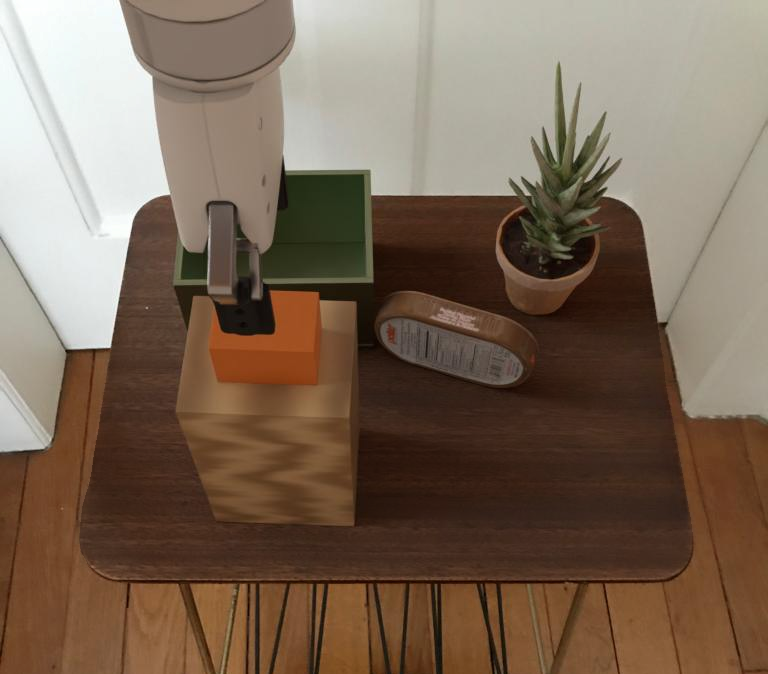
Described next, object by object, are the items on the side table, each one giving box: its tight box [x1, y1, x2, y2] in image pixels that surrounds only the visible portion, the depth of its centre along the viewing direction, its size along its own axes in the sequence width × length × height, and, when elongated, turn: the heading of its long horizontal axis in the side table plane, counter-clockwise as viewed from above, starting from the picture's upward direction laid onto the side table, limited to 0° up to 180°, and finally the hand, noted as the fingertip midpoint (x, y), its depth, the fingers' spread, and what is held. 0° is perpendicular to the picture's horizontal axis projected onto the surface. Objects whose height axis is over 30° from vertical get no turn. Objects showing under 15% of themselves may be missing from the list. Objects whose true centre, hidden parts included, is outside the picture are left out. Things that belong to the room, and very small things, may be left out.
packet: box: [208, 290, 322, 386], centre depth 62 cm, size 7×5×4 cm
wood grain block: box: [174, 296, 361, 527], centre depth 72 cm, size 12×10×18 cm
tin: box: [374, 290, 540, 389], centre depth 81 cm, size 15×3×8 cm, turn 71°
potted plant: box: [495, 60, 623, 316], centre depth 78 cm, size 10×10×25 cm
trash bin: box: [172, 169, 375, 349], centre depth 84 cm, size 13×17×10 cm
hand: (256, 265), depth 55 cm, fingers open, 9 cm apart
